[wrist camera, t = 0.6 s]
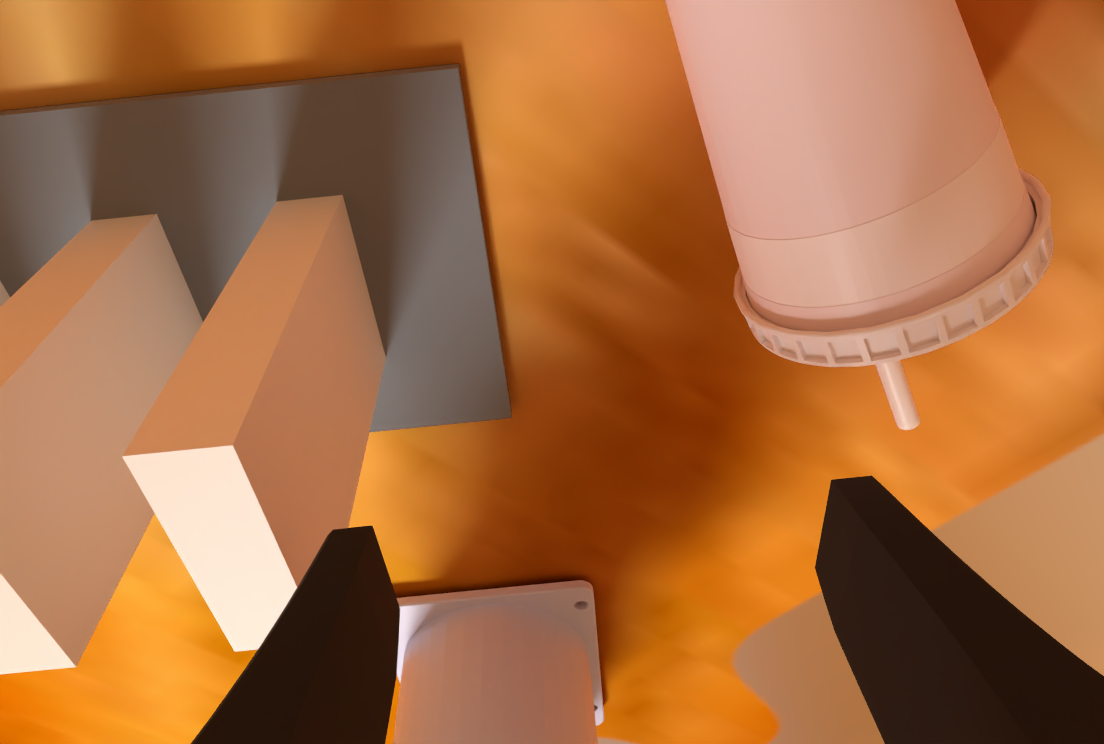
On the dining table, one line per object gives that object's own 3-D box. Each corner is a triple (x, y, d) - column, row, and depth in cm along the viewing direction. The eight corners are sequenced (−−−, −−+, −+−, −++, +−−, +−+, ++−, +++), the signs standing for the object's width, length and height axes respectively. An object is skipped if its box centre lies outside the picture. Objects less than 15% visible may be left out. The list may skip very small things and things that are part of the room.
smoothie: (534, -80, 11) (828, 546, 17) (1032, -393, 8) (1149, 465, 15) (570, -108, 16) (786, 381, 22) (884, -306, 14) (1020, 303, 20)
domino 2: (342, 194, 18) (232, 445, 11) (385, 357, 21) (322, 643, 14) (276, 201, 18) (122, 456, 11) (328, 363, 21) (234, 651, 14)
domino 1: (156, 213, 18) (-78, 476, 11) (225, 373, 21) (76, 667, 14) (91, 220, 18) (-189, 487, 11) (168, 379, 21) (-11, 675, 14)
